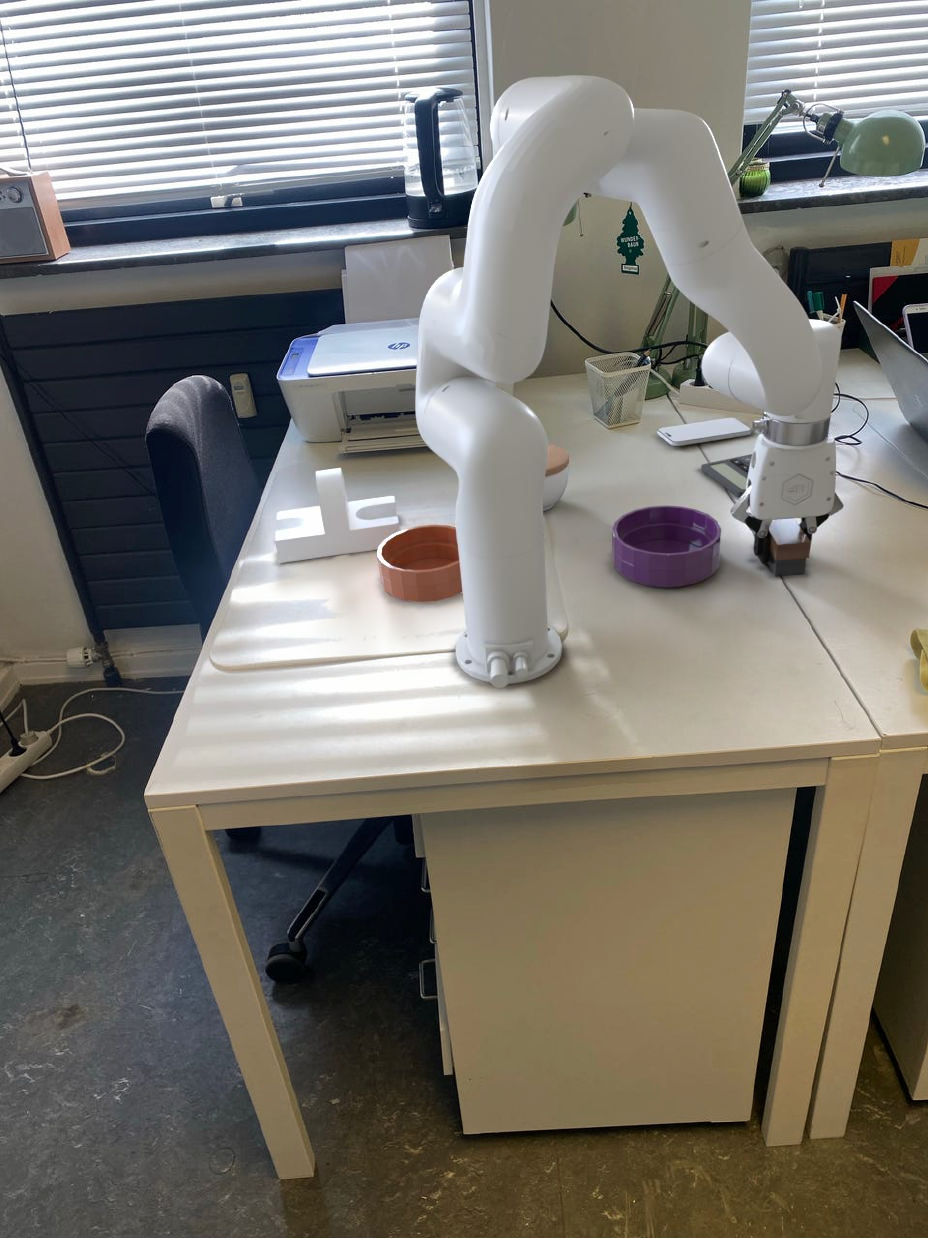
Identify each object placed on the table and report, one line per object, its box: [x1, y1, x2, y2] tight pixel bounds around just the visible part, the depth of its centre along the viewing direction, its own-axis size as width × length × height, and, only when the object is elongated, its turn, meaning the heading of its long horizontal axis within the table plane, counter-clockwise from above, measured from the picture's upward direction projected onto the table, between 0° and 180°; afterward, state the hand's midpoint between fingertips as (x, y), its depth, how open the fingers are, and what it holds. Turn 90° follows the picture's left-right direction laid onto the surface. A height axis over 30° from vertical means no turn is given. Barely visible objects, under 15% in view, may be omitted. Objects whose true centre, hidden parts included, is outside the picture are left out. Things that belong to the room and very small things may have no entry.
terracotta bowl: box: [376, 524, 463, 603], centre depth 122 cm, size 13×13×5 cm
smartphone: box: [656, 416, 752, 447], centre depth 157 cm, size 7×1×15 cm
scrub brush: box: [767, 518, 812, 577], centre depth 119 cm, size 9×4×5 cm, turn 0°
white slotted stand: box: [274, 467, 401, 564], centre depth 133 cm, size 18×10×11 cm, turn 98°
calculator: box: [700, 453, 753, 498], centre depth 142 cm, size 12×1×15 cm
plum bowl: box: [611, 505, 723, 588], centre depth 120 cm, size 14×14×5 cm
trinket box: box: [543, 444, 570, 512], centre depth 138 cm, size 11×11×9 cm
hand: (780, 556), depth 120 cm, fingers closed on scrub brush, 4 cm apart
